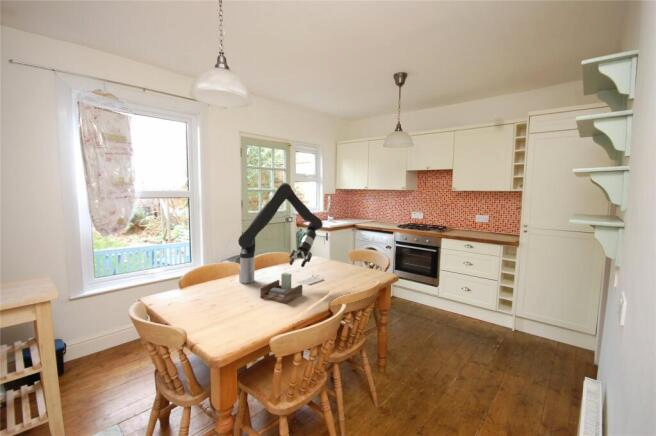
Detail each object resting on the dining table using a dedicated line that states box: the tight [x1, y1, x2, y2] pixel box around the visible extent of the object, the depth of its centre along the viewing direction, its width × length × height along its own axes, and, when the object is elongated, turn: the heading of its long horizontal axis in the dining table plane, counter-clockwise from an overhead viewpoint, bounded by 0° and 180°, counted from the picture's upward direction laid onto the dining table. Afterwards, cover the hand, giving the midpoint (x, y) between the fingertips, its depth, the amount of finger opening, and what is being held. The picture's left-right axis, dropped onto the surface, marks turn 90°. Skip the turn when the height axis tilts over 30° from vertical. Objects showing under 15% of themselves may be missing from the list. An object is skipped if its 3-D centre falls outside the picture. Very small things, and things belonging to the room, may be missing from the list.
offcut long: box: [268, 292, 284, 299], centre depth 162 cm, size 12×5×2 cm, turn 62°
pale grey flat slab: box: [295, 274, 324, 286], centre depth 191 cm, size 31×3×12 cm
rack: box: [259, 279, 303, 305], centre depth 164 cm, size 18×16×7 cm
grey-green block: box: [280, 272, 292, 291], centre depth 168 cm, size 5×3×12 cm, turn 62°
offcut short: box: [270, 288, 287, 296], centre depth 163 cm, size 9×4×2 cm, turn 68°
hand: (296, 265), depth 176 cm, fingers open, 8 cm apart
